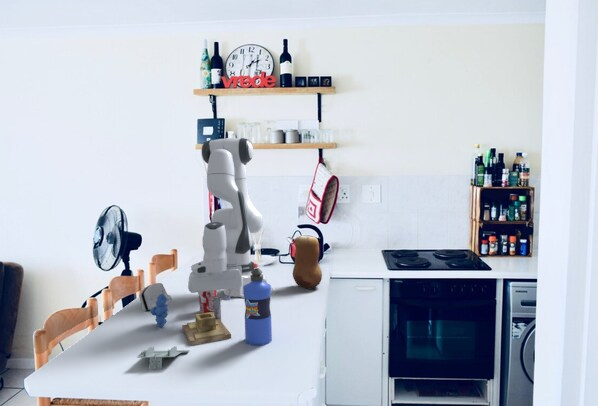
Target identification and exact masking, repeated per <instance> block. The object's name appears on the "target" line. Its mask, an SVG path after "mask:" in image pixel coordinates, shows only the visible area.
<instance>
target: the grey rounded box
mask: <svg viewBox="0 0 598 406" xmlns="http://www.w3.org/2000/svg"><path fill="white" fill-rule="evenodd" d="M160 294H164V295H165V297H166V298H167V301H166V303H167V304H168V303H169V302H170V301H172V296H171V295H170V294H168V293H167V290H166V288H165V287H164V284H163V283H162V282H156V283H152V284H149V285H147V286H145V287H144V288H143V289H142V290H141V291H140V293H139V295H138V298H139V301H140V304H141V306H142V310H143V312H146V311H148V310H151V309H152V308H153V307H156V301H157V300H158V299H157V297H158V296H159V295H160Z"/></svg>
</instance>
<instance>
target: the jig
mask: <svg viewBox="0 0 598 406" xmlns="http://www.w3.org/2000/svg"><path fill="white" fill-rule="evenodd" d="M194 317H195V318H194V319H195V321H190V322H187V324H183V325H181V330H182V331H183V334H184V335H185V338H186V339H187V342H188V343H189V345H190V346H196V345H200V344H201V345H202V344H207V343H211V342H216V341H222V340H223V341H224V340H229V339H231V338H232V334H231V331H229V329H228V328H227V327H226V325H225V324H224V323H223V322H222V319H221V320H220V319H218V320H216V317H215V316H214V313H212V312H209V313H198V314H196V313H195V314H194Z"/></svg>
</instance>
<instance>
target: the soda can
mask: <svg viewBox="0 0 598 406" xmlns="http://www.w3.org/2000/svg"><path fill="white" fill-rule="evenodd" d="M217 292H218V290H214V291H205V292H203V295H202V297H205V298H206V303H201V297H200V296H199V295H198V304H199V311H200V314H203V313H209V312H212V313H213V314H214V301H213V298H214V297H218V295H217V294H218V293H217Z"/></svg>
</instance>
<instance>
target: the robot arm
mask: <svg viewBox="0 0 598 406" xmlns="http://www.w3.org/2000/svg"><path fill="white" fill-rule="evenodd" d="M253 155H254V147H253V144H252V142H251V141H250V140H249V138H246V137H245V138H244V137H243V138H242V137H240V138H238V137H237V138H234V137H227V138H226V137H225V138H218V139H209V140H205V141H204V142H203V144H202V145H201V156H202V159H203V162H205V163H206V164H207V168H206V169H207V170H206V187H207V190H208V192H209V193H210V194H211V195H212V196H214V197H215V198H217V199H220V200H222V201H225V202H228V203H230V205H231V207H232V208H231V207H224V208H220V209H216V210H215V211H214V213H213V215H212V217H211V222H208V223H206V224H205V225H204V229H203V234H202V235H203V236H202V249H203V256H202V259H203V260H201V261H199V262H196V263H194V264H192V265H191V266H190V270H191V272H190V274H189V276H188V281H187V282H188V285H187V286H188V287H187V288H188V291H189V292H190V293H192V294H194V293H197V294H198V297H199V296H200V297H201V303H206V298H205V297H202V295H203V292H205V291H214V290H217V291H220V290H222V291H223V290H224V291H223V294H224V295H225V301H230V300H231V297H233V298H236V297H237V298H238V297H239V298H242V299H244V292H243V286H244V285H246V284H248V283H250V282H251V275H252V273H251V272H252V271H253V270H254V269H255V268H259V264H258V263H256V262H253V261H251V249H252V245H253V238H252V234H254V233H258V232H260V231H261V229H262V228H263V224H264V218H263V215H262V214H261V212H259V210H258V209H256V208H255V206H254V204H253V202H252V200H251V197H250V196H249V189H248V187H249V186H248V178H247V177H248V175H247V167H246V165H247V164H248V163H249V162H250V161H251V160H252V158H253ZM261 274H262V273H261ZM262 275H263V282H265V283H268V280H267V278H266V276H265V275H264V274H262ZM273 291H274V290H273V287H272V286H271V293H273Z"/></svg>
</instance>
